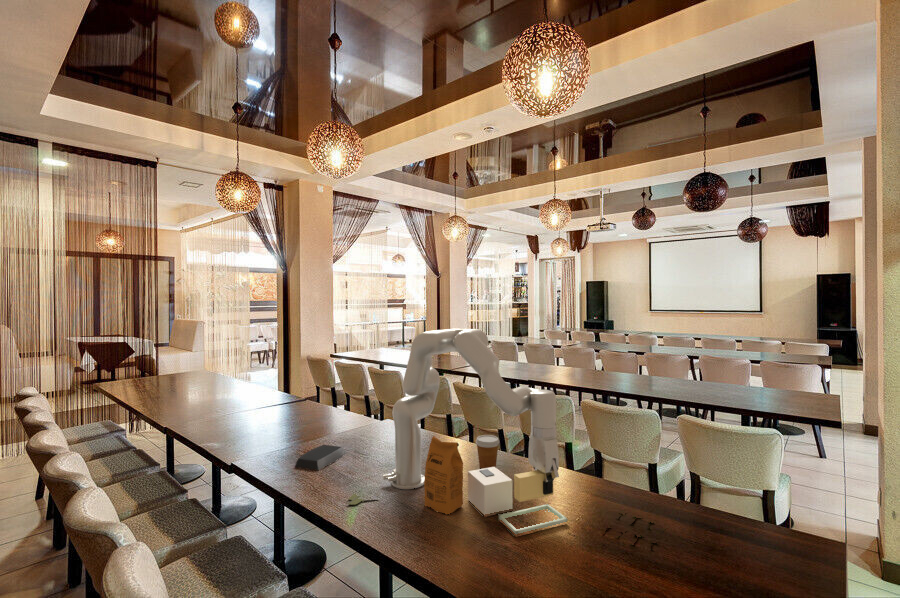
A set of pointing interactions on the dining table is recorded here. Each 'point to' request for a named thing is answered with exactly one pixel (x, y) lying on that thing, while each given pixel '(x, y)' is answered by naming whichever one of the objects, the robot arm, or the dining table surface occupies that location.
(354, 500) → the green leaf
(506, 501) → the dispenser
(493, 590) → the dining table surface
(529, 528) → the tray
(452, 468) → the coffee package
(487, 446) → the disposable coffee cup
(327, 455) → the dark grey ingot block
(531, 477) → the pale yellow paper bar
